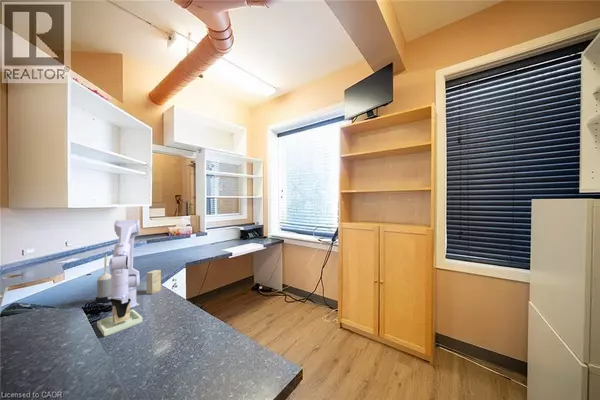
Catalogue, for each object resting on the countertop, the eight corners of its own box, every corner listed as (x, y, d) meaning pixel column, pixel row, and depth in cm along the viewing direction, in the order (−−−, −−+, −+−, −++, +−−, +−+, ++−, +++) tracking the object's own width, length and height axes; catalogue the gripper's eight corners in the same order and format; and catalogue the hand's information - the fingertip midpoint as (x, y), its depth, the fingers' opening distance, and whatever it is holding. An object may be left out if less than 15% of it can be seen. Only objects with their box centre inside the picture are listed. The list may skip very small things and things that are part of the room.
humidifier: (117, 296, 121) (117, 252, 122) (112, 302, 114) (112, 255, 114) (99, 299, 118) (99, 254, 118) (92, 305, 110) (92, 257, 111)
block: (112, 320, 92) (112, 306, 92) (127, 315, 96) (127, 302, 96) (115, 323, 90) (115, 309, 90) (129, 318, 94) (129, 304, 94)
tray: (97, 326, 91) (97, 321, 91) (133, 313, 101) (133, 309, 101) (104, 337, 84) (104, 331, 84) (142, 322, 94) (142, 317, 94)
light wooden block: (152, 294, 123) (152, 273, 124) (145, 293, 124) (145, 272, 125) (161, 290, 130) (161, 269, 130) (155, 289, 131) (155, 269, 131)
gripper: (103, 283, 94) (103, 314, 94) (112, 290, 85) (112, 325, 85) (123, 278, 100) (124, 307, 99) (134, 285, 91) (134, 317, 91)
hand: (120, 315), depth 93 cm, fingers closed on block, 4 cm apart
